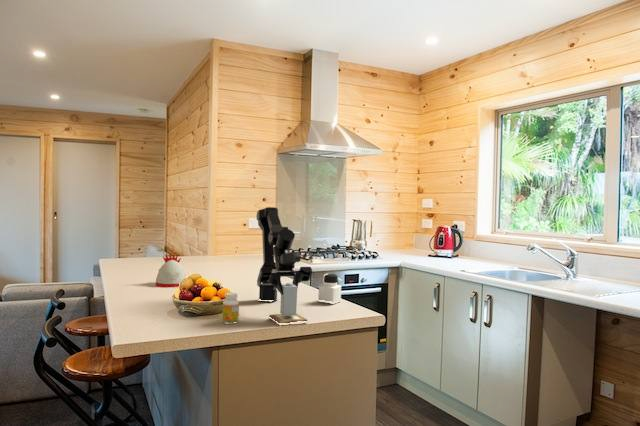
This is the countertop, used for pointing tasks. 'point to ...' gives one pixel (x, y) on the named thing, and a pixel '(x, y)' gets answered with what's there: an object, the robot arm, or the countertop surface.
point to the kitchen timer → (170, 273)
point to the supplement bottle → (230, 308)
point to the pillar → (289, 300)
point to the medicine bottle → (330, 288)
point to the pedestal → (287, 318)
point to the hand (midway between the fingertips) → (289, 294)
